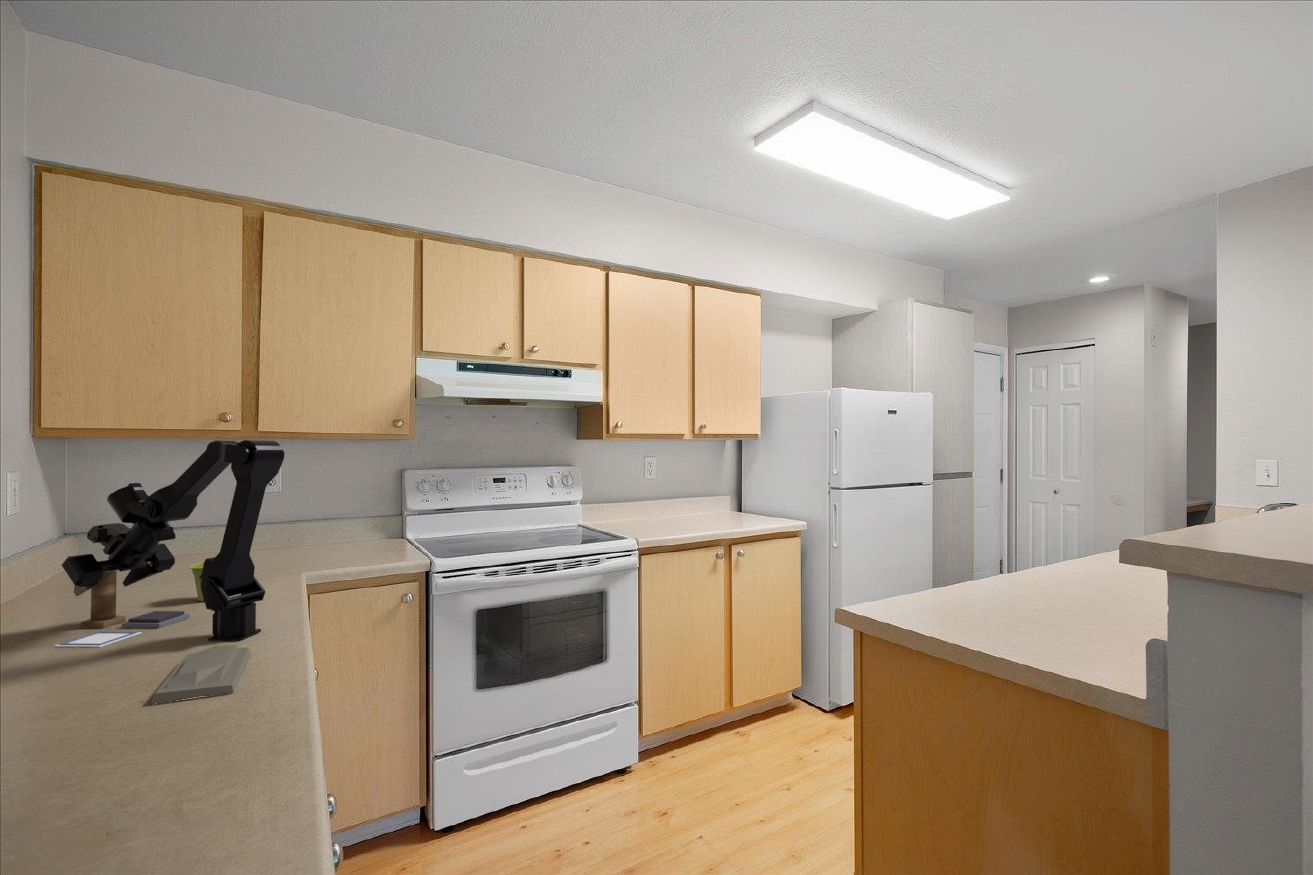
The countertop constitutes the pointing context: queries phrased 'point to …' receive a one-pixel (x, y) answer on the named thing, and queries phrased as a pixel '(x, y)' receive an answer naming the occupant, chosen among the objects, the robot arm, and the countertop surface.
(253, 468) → the robot arm
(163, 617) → the ink pad
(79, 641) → the print card
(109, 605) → the stamp
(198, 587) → the plant pot
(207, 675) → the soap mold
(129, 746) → the countertop surface
